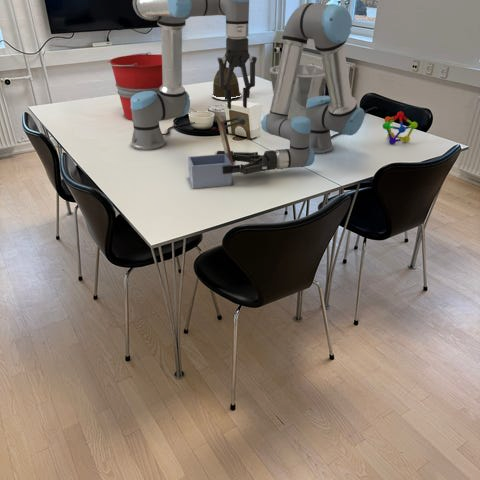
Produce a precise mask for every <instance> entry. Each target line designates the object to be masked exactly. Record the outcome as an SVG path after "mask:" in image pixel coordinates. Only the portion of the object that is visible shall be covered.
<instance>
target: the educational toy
mask: <svg viewBox="0 0 480 480" xmlns="http://www.w3.org/2000/svg"><path fill="white" fill-rule="evenodd" d="M397 119H399V124H400V125H399V127H398V126H393V125H391V124H392V123H394V122H395V121H396V120H397ZM403 120H404V121H405V122H407V123H408V124H409V125H407V126H404V123H403ZM417 127H418V122H417V121H411V120H410V119H409V118H408V117H406V116H405V113H404V112H403V111H401V110H400V111H398V112H397V114H396V115H394V116H391V117H390V116H386V117H385V118H384V122H383V123H382V129H383V130H386V132H387V138H388V142H389V145H395V144H396V143H397V142H402V141H403V142H404V143H409V142H410V140H411V138H410V136H411V134H412V132H413V131H414V130H415V129H417ZM392 129H393V130H397V131H398V132H396V134H395V133H394V132H392ZM408 129H409V131H408V133H407V134H406V135H404V136H401V134H403V133H405V132H406V130H408ZM399 135H400V136H399Z"/></svg>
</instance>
